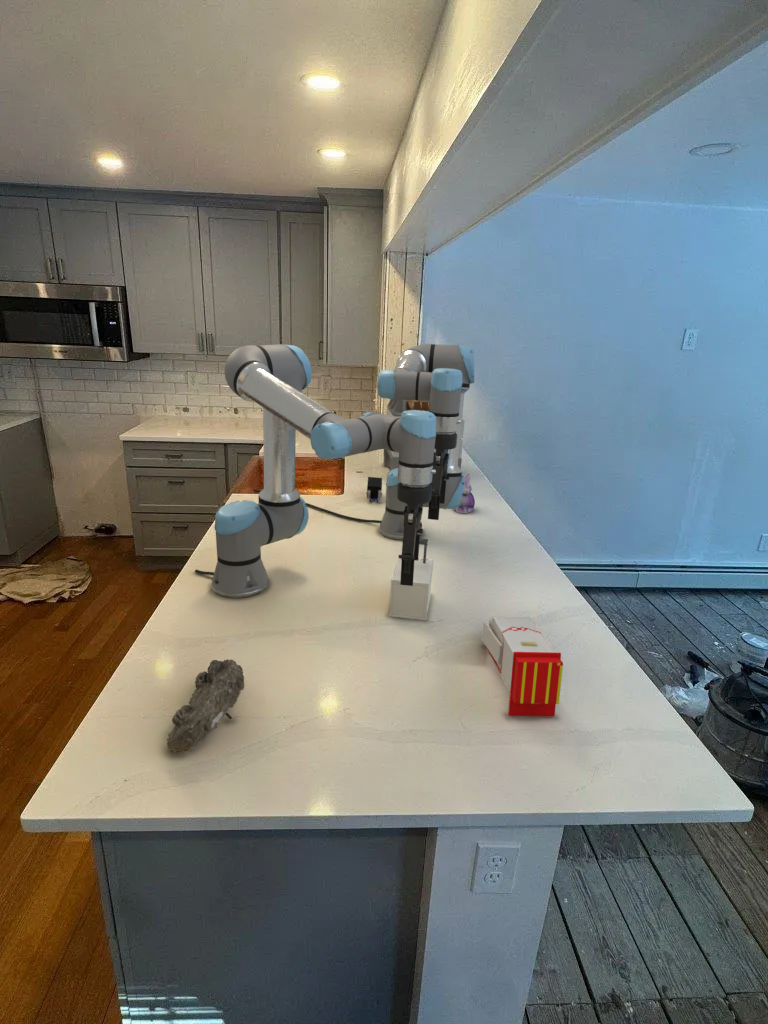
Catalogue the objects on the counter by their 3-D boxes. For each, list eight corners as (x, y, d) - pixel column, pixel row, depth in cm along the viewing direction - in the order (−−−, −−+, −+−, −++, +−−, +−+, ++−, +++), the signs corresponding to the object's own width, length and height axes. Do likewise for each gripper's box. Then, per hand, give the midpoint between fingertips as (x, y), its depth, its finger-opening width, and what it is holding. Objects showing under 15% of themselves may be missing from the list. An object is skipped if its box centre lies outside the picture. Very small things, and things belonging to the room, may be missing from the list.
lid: (398, 559, 157) (400, 532, 154) (433, 562, 156) (435, 536, 153) (391, 582, 143) (392, 554, 140) (428, 586, 142) (430, 558, 139)
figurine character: (382, 507, 229) (381, 492, 243) (383, 490, 226) (382, 475, 239) (365, 506, 229) (366, 491, 242) (366, 489, 226) (366, 475, 239)
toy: (528, 601, 136) (572, 659, 107) (523, 653, 139) (565, 722, 110) (478, 600, 136) (508, 657, 107) (474, 652, 139) (503, 722, 109)
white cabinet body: (396, 591, 159) (398, 560, 156) (430, 595, 158) (432, 564, 155) (389, 616, 146) (391, 582, 143) (426, 620, 145) (428, 587, 142)
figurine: (461, 515, 220) (465, 478, 215) (447, 507, 229) (450, 471, 224) (481, 512, 224) (485, 476, 219) (466, 504, 233) (469, 469, 228)
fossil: (192, 660, 117) (244, 628, 112) (224, 691, 120) (276, 661, 115) (142, 746, 98) (202, 712, 93) (182, 779, 101) (242, 748, 96)
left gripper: (428, 502, 111) (421, 598, 118) (435, 469, 134) (429, 551, 142) (390, 499, 112) (386, 594, 119) (404, 467, 135) (399, 548, 142)
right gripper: (452, 443, 131) (445, 528, 138) (461, 424, 154) (454, 498, 161) (420, 440, 133) (415, 525, 140) (434, 421, 156) (428, 495, 163)
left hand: (409, 571), depth 130 cm, fingers open, 13 cm apart
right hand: (436, 510), depth 151 cm, fingers open, 13 cm apart
